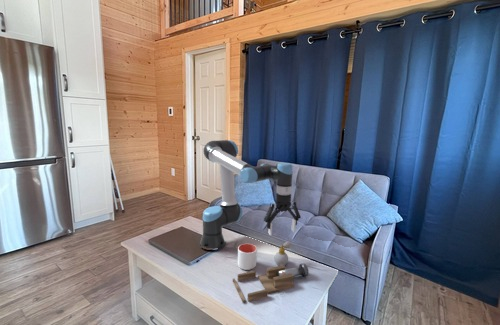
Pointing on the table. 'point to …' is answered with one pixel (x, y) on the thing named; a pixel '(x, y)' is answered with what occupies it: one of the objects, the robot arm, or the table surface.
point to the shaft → (295, 271)
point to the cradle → (266, 283)
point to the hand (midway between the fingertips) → (281, 232)
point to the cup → (247, 256)
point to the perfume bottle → (282, 254)
